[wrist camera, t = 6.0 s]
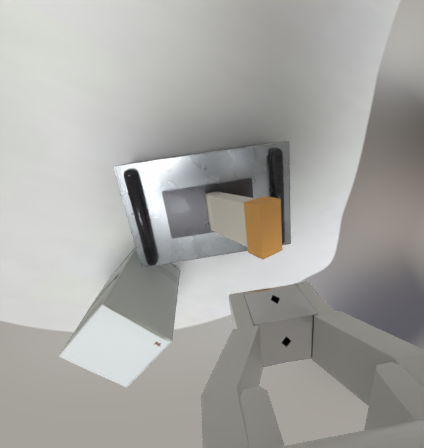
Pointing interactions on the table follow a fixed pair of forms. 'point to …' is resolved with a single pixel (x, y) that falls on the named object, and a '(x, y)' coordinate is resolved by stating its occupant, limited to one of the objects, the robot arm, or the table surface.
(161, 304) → the supplement box
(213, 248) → the box
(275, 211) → the lever
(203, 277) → the table surface
